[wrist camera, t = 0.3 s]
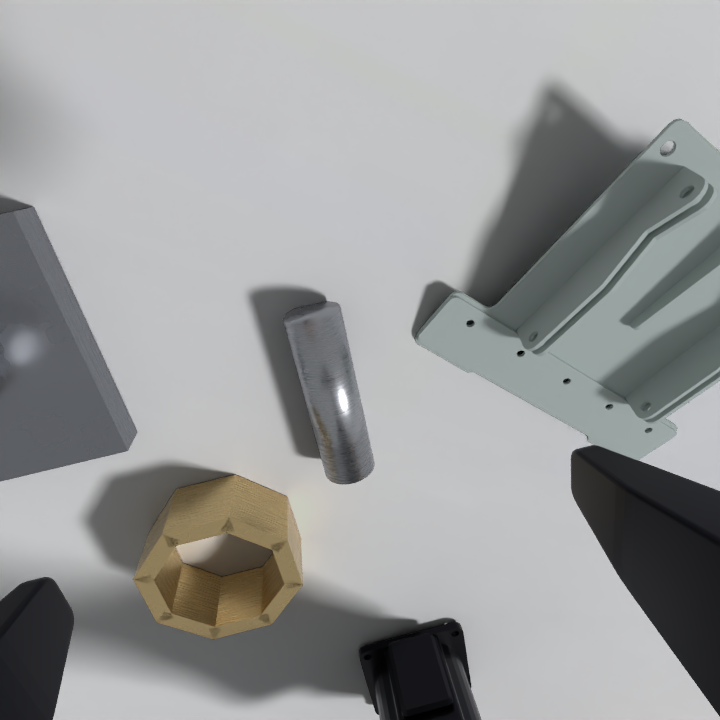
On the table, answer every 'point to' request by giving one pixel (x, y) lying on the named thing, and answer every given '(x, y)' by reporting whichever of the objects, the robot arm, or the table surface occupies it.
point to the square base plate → (49, 363)
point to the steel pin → (330, 390)
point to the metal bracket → (611, 305)
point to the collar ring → (209, 591)
